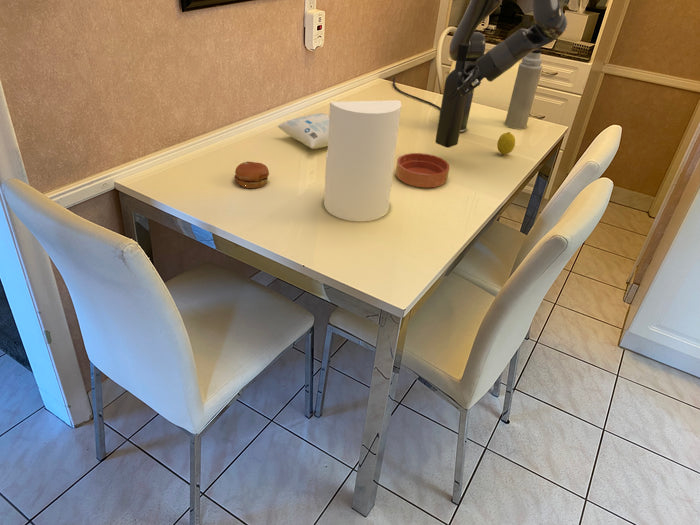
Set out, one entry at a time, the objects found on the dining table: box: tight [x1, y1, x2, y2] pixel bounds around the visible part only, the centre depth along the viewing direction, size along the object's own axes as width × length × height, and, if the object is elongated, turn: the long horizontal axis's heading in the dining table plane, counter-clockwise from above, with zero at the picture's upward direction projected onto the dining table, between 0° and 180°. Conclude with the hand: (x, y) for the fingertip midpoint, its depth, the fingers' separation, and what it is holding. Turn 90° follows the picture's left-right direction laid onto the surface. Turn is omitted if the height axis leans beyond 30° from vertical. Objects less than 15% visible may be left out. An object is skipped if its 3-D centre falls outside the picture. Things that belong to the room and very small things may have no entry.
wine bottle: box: [434, 43, 469, 149], centre depth 158 cm, size 6×6×30 cm
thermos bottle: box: [504, 48, 543, 130], centre depth 193 cm, size 8×8×28 cm
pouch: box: [276, 112, 329, 150], centre depth 172 cm, size 8×19×20 cm
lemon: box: [496, 131, 516, 156], centre depth 173 cm, size 6×6×8 cm
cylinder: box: [323, 99, 402, 223], centre depth 132 cm, size 17×17×28 cm
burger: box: [234, 161, 270, 189], centre depth 146 cm, size 10×9×5 cm
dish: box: [395, 152, 450, 188], centre depth 155 cm, size 15×15×4 cm
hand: (449, 96), depth 158 cm, fingers closed on wine bottle, 7 cm apart
